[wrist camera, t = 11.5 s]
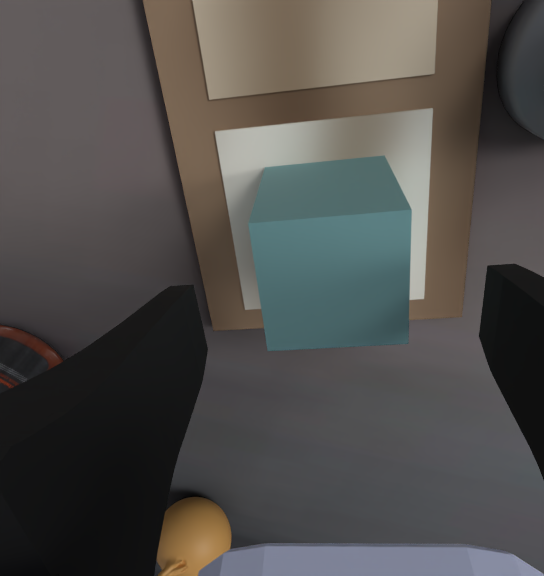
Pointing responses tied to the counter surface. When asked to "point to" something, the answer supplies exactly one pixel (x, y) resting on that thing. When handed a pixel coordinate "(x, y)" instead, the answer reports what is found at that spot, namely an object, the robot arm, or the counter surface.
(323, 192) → the teal rectangular block
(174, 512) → the figurine
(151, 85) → the counter surface
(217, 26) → the game board
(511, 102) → the dome base
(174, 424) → the robot arm
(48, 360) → the supplement bottle
